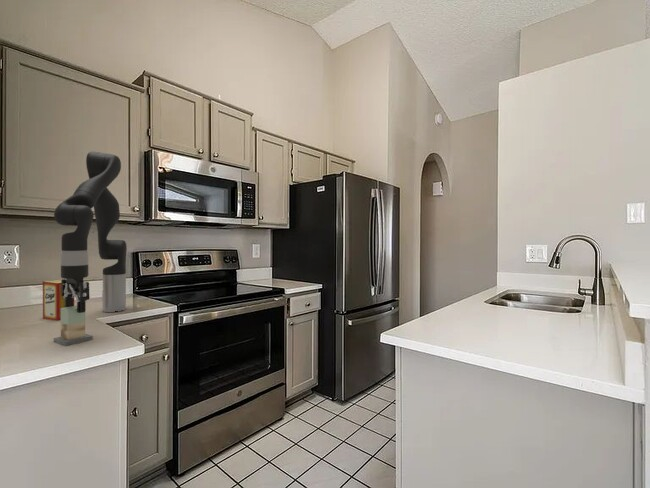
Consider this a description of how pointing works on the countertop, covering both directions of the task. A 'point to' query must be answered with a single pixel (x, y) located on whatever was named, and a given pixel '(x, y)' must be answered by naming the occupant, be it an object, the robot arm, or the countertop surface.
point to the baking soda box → (53, 300)
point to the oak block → (72, 331)
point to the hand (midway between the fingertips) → (75, 310)
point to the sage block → (71, 315)
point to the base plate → (72, 340)
